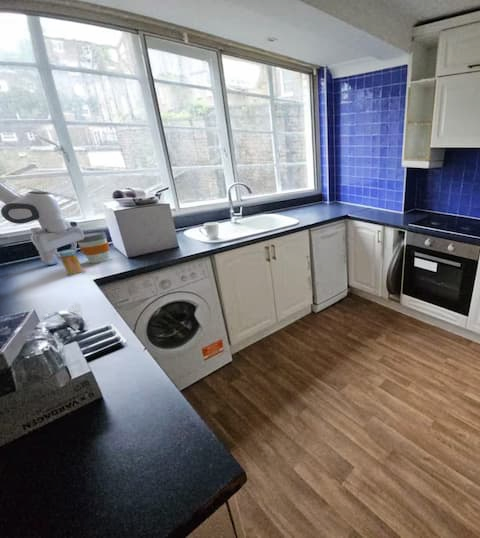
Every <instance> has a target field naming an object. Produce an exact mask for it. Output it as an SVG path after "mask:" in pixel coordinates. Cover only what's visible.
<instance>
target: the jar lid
mask: <svg viewBox="0 0 480 538" xmlns="http://www.w3.org/2000/svg"><path fill="white" fill-rule="evenodd" d="M58 252H59V253H62V255H63V256H62V257H67V256H71V255H74V254H76V255H77V251H75V250H74V249H70V248H69V249H64V250H61V251H58Z"/></svg>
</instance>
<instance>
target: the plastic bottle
mask: <svg viewBox="0 0 480 538" xmlns="http://www.w3.org/2000/svg"><path fill="white" fill-rule="evenodd" d="M29 230H30V233H31V236H30V241H31V242H32V243H33V245H34V246H35V243H34V239H33V237H32V235H33V234H34V232H36V231H40V230H42V228H41V226H36V227H31V228H29ZM34 235H35V234H34ZM38 254H39V257H40V261H41V263H42V264H43V265H44V266H51V265H53V266H54V265H56V264H59V262H60V257H56V255H55V254H54V253H52V252H51V251H46V252H40V251H38Z"/></svg>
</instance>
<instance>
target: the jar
mask: <svg viewBox="0 0 480 538" xmlns="http://www.w3.org/2000/svg"><path fill="white" fill-rule="evenodd" d="M59 260H60V261H61V263H62V265H63V268H64V269H65V271H66V274H67V275H69V274H70V275H69V276H71V275H76V274H75V273H77V274H80V273H82V272H83V271H84V270H83V267H82V265H81V263H80V261H79V258H78V255H77V253H76V254H74V255H71V256H67V257H59ZM81 271H82V272H81ZM79 272H80V273H79Z"/></svg>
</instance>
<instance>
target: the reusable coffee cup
mask: <svg viewBox="0 0 480 538" xmlns="http://www.w3.org/2000/svg"><path fill="white" fill-rule="evenodd" d="M83 234H84V239H83V240H80V241H77V242H76V243H77V245H78V247H79V249H80V251H81V252H82V254H83V255H84V256H85V258H86V259H87V261H88V262H89V264H99V263H104V262H107V261H109V260H111V253H110V244H109V241H108V239H107V235H106V232H105V231H103V230H93V231H86V232H83Z"/></svg>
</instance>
